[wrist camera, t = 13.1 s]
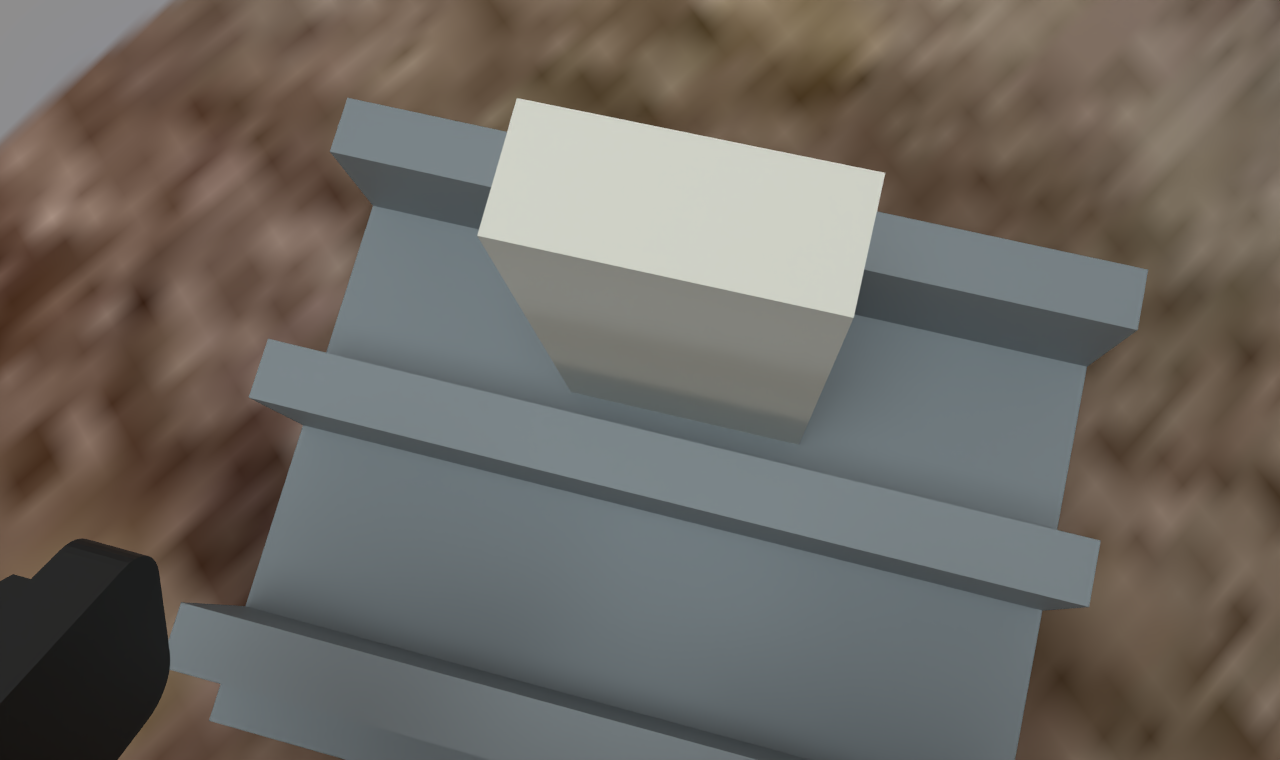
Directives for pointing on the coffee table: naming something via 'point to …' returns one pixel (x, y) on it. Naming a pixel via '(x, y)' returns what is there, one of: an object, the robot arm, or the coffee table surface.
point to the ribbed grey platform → (656, 511)
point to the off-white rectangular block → (680, 264)
